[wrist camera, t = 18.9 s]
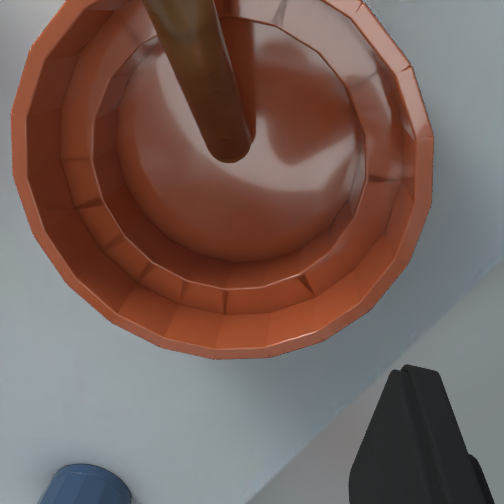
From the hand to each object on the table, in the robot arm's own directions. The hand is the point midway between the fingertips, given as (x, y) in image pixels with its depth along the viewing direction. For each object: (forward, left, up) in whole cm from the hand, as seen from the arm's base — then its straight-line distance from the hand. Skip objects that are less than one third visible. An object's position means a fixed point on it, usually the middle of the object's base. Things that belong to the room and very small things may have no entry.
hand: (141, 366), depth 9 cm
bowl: (0, 0, -15) cm, 15 cm away
